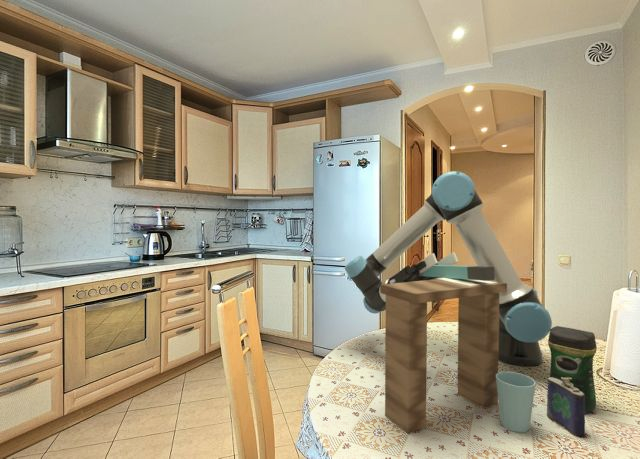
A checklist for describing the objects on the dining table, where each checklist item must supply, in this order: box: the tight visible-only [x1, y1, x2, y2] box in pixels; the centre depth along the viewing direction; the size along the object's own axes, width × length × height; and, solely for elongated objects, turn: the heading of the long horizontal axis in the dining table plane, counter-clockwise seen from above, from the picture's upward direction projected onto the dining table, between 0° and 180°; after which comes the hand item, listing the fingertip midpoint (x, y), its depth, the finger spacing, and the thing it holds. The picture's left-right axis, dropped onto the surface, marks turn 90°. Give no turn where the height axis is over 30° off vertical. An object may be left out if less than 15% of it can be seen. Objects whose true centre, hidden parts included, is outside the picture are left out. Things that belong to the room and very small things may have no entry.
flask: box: [546, 376, 586, 439], centre depth 80 cm, size 9×3×11 cm, turn 8°
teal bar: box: [419, 264, 495, 281], centre depth 93 cm, size 3×22×3 cm, turn 26°
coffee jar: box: [547, 325, 598, 413], centre depth 89 cm, size 10×8×19 cm
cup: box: [496, 371, 537, 434], centre depth 80 cm, size 8×8×10 cm
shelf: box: [381, 277, 507, 434], centre depth 86 cm, size 28×12×30 cm, turn 116°
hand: (445, 257), depth 95 cm, fingers open, 7 cm apart
